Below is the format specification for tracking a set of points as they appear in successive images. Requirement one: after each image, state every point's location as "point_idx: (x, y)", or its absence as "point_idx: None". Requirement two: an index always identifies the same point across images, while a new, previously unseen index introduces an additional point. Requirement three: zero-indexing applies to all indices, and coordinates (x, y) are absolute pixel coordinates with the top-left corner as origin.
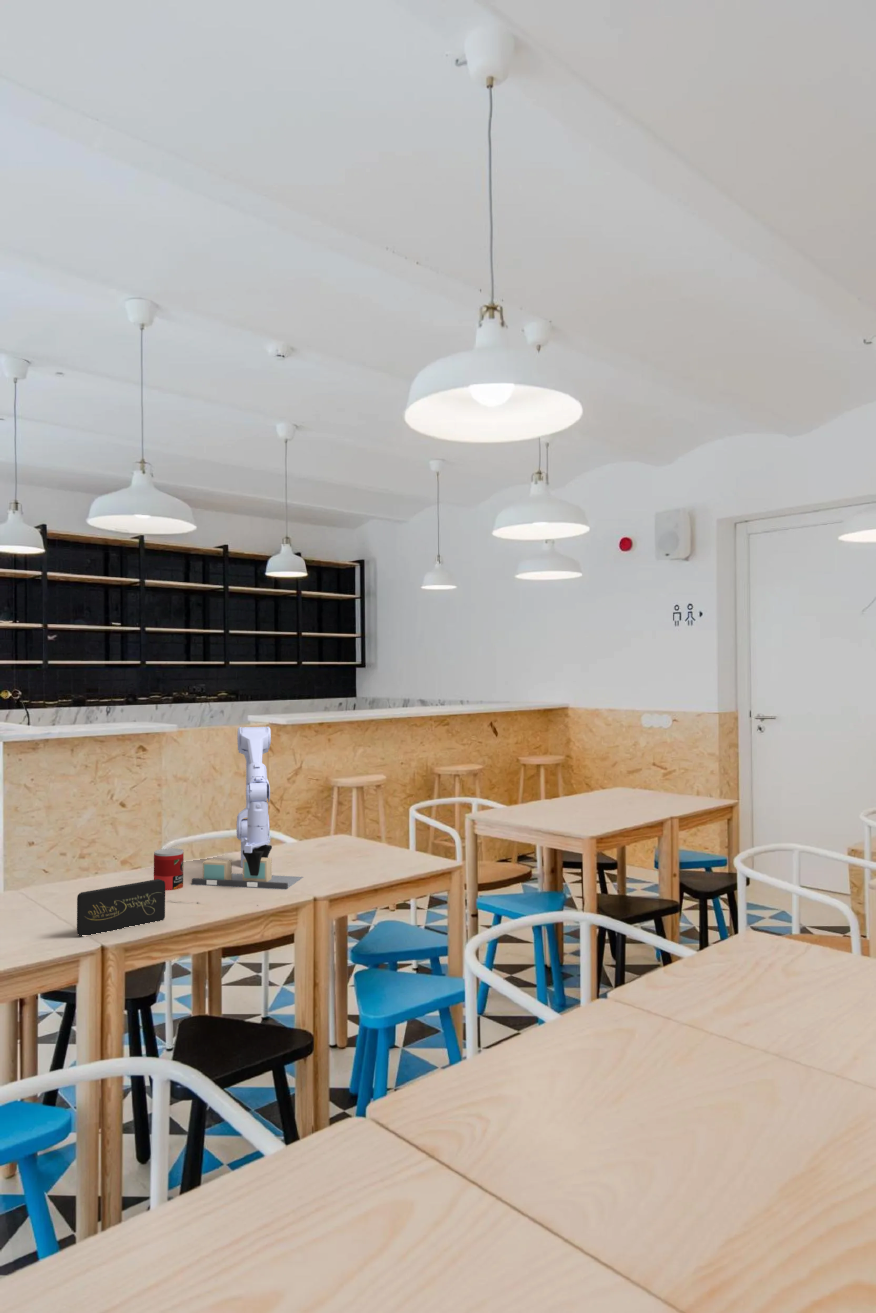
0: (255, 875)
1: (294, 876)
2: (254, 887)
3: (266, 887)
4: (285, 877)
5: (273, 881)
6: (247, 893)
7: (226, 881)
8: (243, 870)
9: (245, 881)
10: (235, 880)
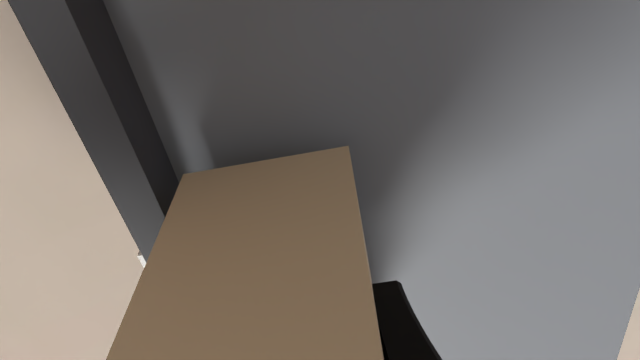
0: None
1: (619, 342)
2: None
3: None
4: (581, 310)
5: (429, 297)
6: (99, 242)
7: (25, 11)
8: (148, 274)
9: (140, 239)
10: (107, 124)
